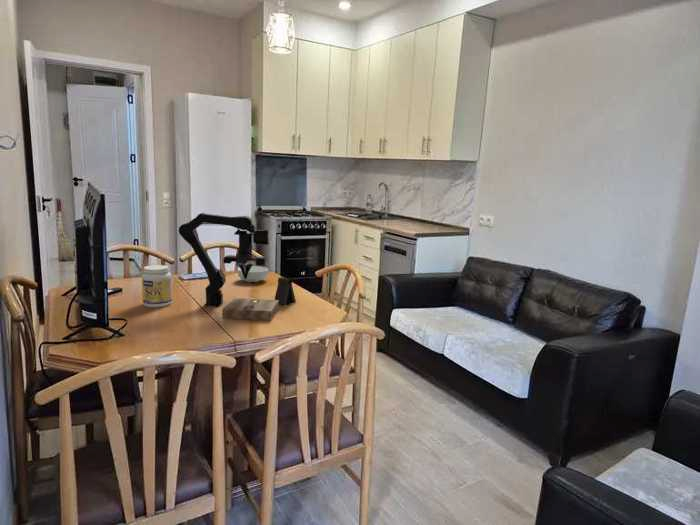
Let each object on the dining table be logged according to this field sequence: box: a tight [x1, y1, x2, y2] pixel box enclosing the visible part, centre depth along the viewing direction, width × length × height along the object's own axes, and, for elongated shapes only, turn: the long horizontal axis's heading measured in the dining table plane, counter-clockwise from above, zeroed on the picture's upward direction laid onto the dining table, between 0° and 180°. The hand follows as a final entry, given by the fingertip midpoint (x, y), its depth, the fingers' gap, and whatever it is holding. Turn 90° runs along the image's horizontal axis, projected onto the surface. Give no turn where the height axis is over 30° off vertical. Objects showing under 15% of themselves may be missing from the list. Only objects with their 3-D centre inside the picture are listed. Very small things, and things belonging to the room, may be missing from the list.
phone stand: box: [273, 276, 297, 307], centre depth 214 cm, size 9×6×12 cm, turn 147°
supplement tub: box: [141, 264, 173, 308], centre depth 204 cm, size 12×12×17 cm
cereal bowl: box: [237, 265, 269, 283], centre depth 255 cm, size 17×17×7 cm
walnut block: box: [221, 297, 280, 321], centre depth 197 cm, size 20×17×4 cm
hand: (245, 278), depth 208 cm, fingers closed
